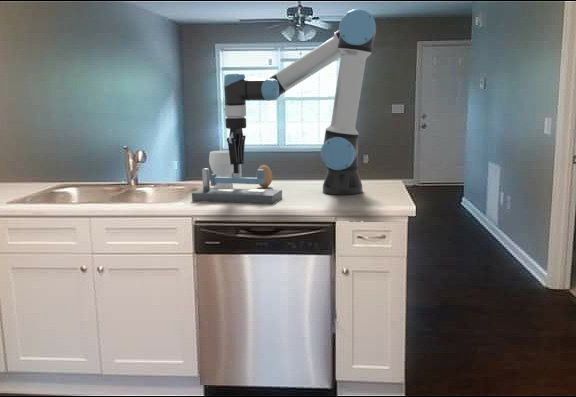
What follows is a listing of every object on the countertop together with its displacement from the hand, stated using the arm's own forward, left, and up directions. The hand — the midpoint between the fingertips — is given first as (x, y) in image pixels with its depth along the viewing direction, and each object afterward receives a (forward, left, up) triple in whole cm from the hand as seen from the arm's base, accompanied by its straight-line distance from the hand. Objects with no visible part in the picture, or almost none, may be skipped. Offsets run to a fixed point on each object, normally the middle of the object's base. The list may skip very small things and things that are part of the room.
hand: (237, 181), depth 208 cm
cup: (+12, -15, -6) cm, 20 cm away
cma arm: (-2, +6, -1) cm, 7 cm away
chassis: (-2, +6, -6) cm, 9 cm away
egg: (-3, -22, -6) cm, 23 cm away
